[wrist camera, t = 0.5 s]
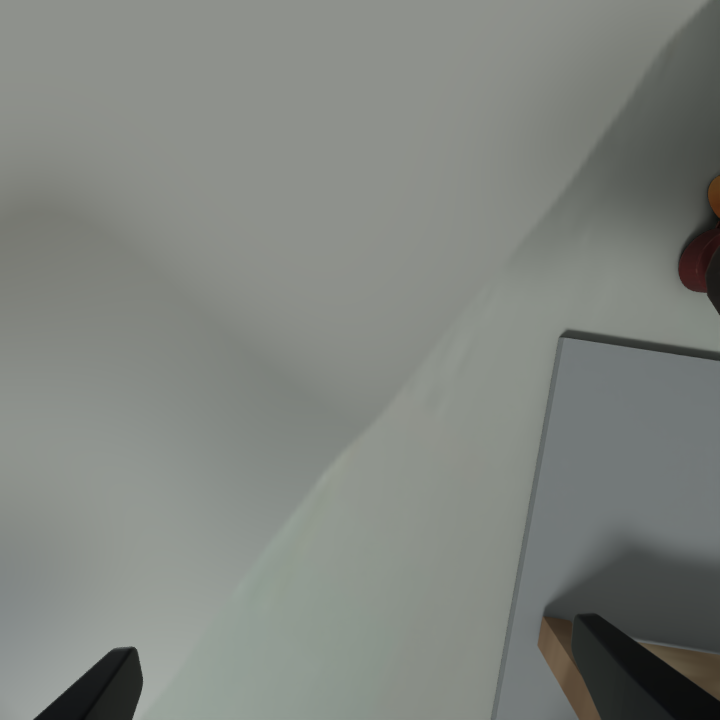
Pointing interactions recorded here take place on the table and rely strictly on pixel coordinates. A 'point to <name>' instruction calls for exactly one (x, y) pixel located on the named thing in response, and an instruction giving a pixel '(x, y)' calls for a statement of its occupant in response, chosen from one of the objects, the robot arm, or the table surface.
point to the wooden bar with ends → (699, 667)
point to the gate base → (618, 513)
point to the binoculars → (704, 256)
